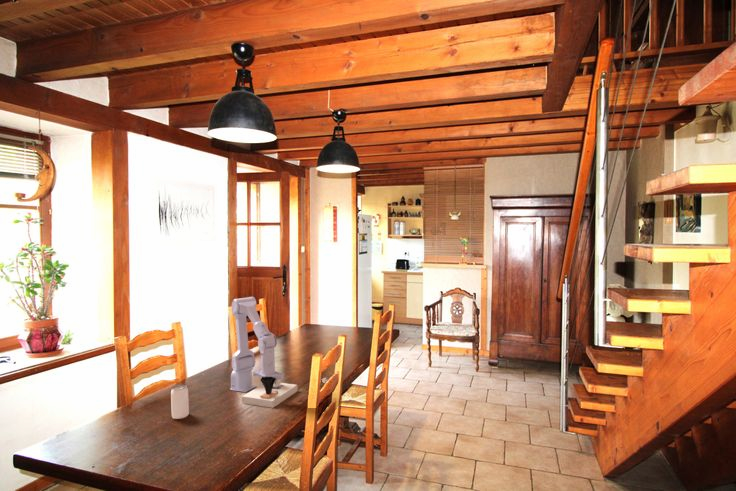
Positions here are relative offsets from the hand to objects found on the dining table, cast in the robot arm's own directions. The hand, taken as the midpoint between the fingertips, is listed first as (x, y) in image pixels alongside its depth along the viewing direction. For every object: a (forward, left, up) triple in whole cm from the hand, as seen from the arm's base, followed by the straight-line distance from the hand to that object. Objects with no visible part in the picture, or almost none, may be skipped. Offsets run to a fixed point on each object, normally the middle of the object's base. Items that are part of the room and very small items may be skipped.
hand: (268, 393), depth 190 cm
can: (-27, -24, -4) cm, 36 cm away
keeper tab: (0, 0, -1) cm, 1 cm away
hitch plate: (-3, +6, -4) cm, 7 cm away
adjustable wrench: (+14, +22, -5) cm, 27 cm away
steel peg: (-3, +10, -4) cm, 12 cm away
